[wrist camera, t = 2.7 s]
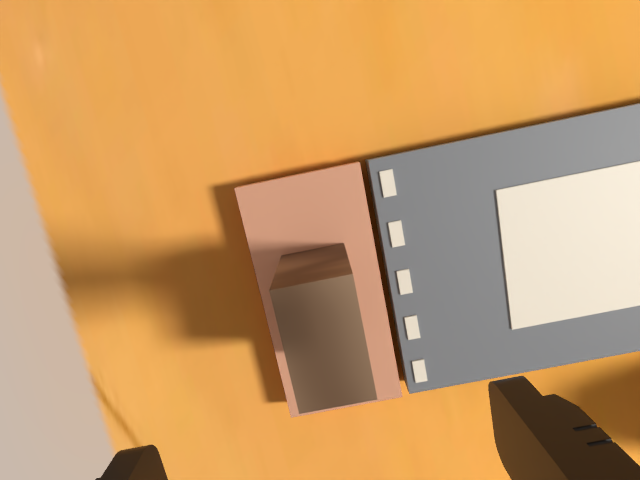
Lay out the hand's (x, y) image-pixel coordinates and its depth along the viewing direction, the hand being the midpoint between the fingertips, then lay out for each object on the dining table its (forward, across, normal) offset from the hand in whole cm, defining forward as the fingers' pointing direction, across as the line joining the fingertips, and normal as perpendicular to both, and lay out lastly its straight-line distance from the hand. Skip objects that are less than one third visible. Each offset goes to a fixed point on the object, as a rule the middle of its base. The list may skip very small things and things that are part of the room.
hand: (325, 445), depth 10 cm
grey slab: (+12, -11, 0) cm, 16 cm away
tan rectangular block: (+12, 0, 0) cm, 12 cm away
